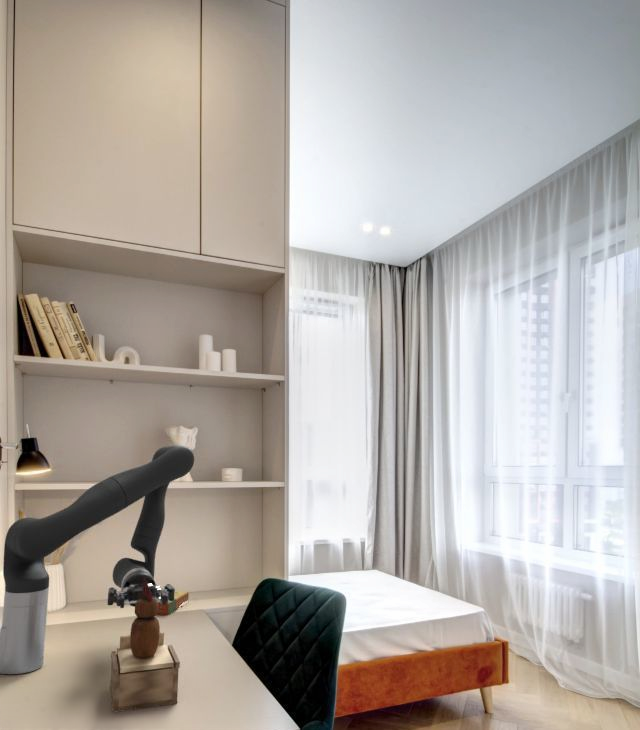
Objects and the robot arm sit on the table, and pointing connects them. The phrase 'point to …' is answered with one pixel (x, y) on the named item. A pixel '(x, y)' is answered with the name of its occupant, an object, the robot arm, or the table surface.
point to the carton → (172, 603)
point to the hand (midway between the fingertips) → (143, 601)
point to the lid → (138, 664)
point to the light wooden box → (143, 685)
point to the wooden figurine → (145, 625)
